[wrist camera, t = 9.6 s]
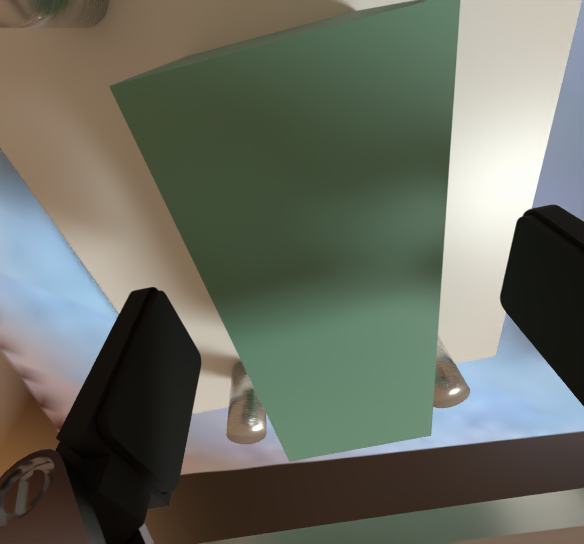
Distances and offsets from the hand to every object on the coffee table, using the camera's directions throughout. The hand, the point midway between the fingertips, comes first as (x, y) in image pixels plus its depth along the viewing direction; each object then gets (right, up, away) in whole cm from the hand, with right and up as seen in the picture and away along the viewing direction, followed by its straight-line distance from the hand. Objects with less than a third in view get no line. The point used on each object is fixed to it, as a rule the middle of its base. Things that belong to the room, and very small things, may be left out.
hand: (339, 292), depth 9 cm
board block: (-1, +3, +4) cm, 5 cm away
